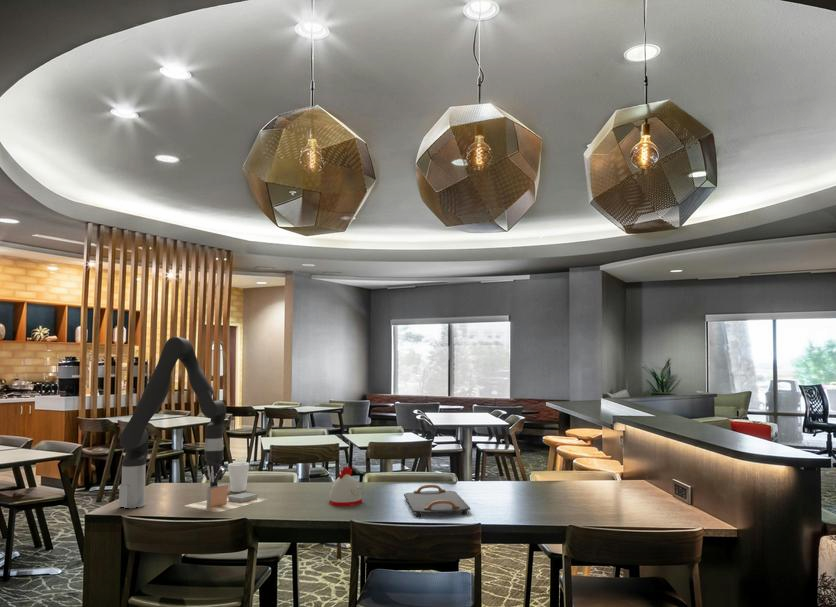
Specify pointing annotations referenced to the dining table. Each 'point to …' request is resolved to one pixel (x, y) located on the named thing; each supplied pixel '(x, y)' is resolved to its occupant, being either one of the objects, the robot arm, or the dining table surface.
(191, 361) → the robot arm
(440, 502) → the serving board
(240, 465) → the foam cup
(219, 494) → the near tile
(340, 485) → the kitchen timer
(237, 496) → the far tile
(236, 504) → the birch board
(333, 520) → the dining table surface
